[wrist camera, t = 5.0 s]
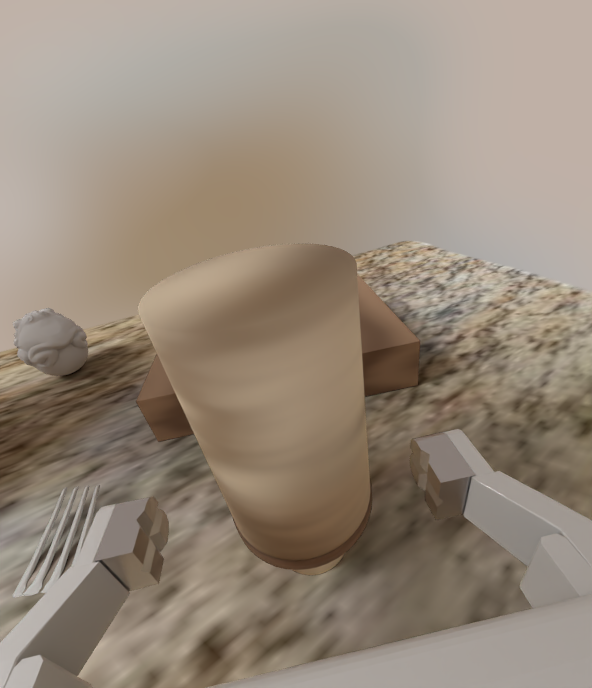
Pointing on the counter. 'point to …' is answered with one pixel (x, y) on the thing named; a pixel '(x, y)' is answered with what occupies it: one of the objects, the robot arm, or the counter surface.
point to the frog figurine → (50, 342)
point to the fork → (60, 566)
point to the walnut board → (377, 356)
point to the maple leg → (273, 393)
